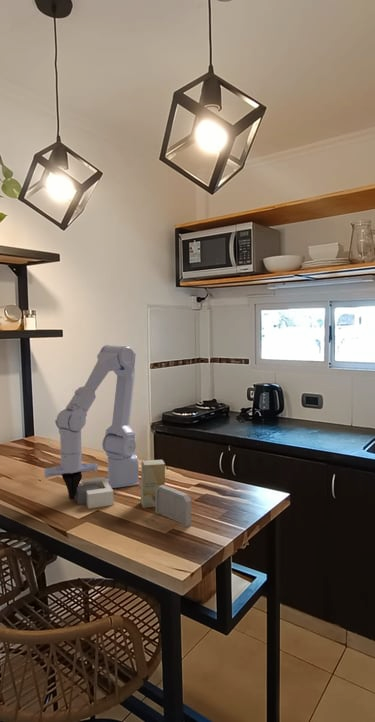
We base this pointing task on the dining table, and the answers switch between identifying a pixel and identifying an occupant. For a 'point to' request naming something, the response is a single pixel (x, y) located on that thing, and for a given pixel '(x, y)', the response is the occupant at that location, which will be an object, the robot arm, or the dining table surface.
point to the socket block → (98, 492)
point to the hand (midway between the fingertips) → (71, 498)
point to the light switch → (173, 504)
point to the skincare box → (151, 480)
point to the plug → (84, 492)
